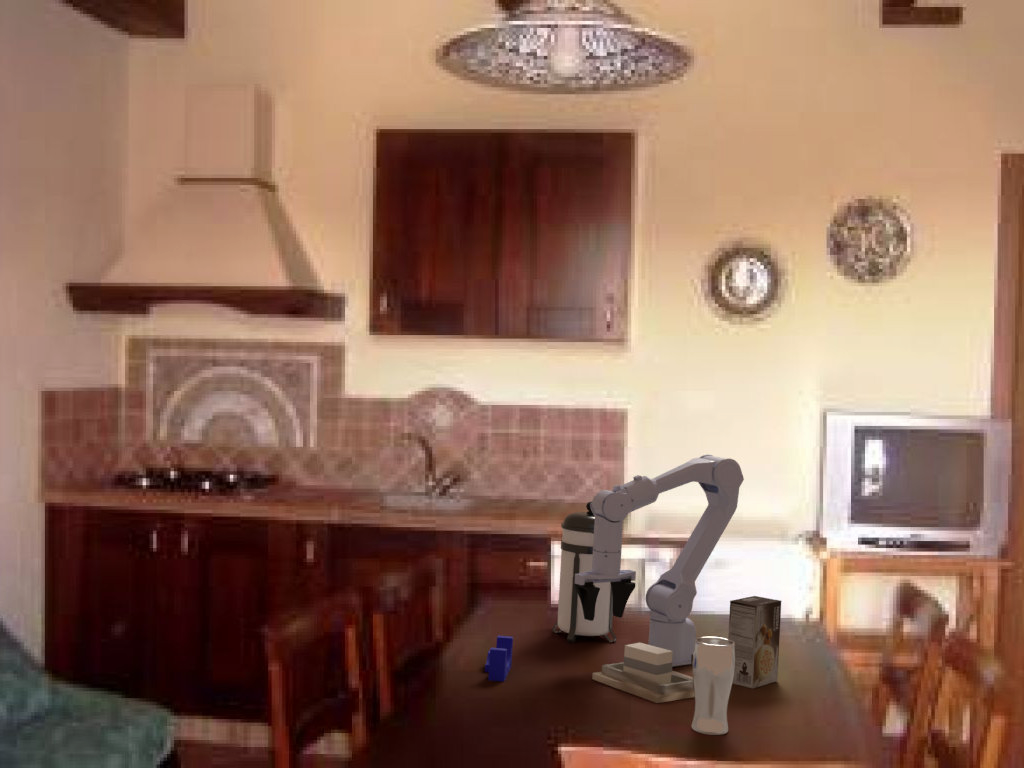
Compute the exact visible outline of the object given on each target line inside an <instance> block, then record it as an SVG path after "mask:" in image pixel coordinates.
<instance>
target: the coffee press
mask: <svg viewBox="0 0 1024 768" xmlns="http://www.w3.org/2000/svg"><path fill="white" fill-rule="evenodd" d="M590 503H592V501H589V502H587V503H586V506H585V507H586V510H587V511H577V512H572V513H569V514H568V515H566V516H565V517H564V518H563V522H561V523H560V524H561V525H560V528H561V529H562V537H561V541H560V549H561V553H560V555H561V556H560V557H561V558H560V572H559V573H560V574H559V588H558V589H559V590H558V605H557V606H558V607H557V609H558V610H557V622H555V625H554V626H553V627H552V631H553V633H554V634H558V633H560V632H562V631H563V632H564V633H567V638H566V640H567V641H566V642H567V643H571V644H575V642H576V641H577V638H578V637H579V636H583V637H595V636H597V637H598V636H601V637H604V638H605V639H606V641H608V642H609V643H613V642H615V641H617V636H616V634H615V632H614V630H613V617H614V616H613V594H612V588H611V583H610V582H603V583H593V585H595V587H598V588H600V591H599V593H598V596H597V600H596V605H595V616H594V620H593V621H590V620H586V619H584V613H583V608H582V604H581V600H580V597H579V595H578V593H577V591H576V589H575V574H579V573H584V572H589V571H590V570H591V569H592V558H593V540H594V524H595V516H594V514H593V513H592V511H591V508H590ZM557 627H558V628H559V629H560V630H557V629H556V628H557ZM609 633H610V635H611V636H612V638H613V640H612V639H611V638H610V636H609V635H608V634H609Z"/></svg>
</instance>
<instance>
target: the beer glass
mask: <svg viewBox="0 0 1024 768" xmlns="http://www.w3.org/2000/svg"><path fill="white" fill-rule="evenodd" d="M734 645H735V643H734V642H733V641H732V640H729V639H728V638H725V637H718V636H700V637H696V639H695V647H694V654H693V664H692V669H691V670H692V673H691V674H692V677H693V685H694V694H695V697H694V703H695V704H694V714H693V717H692V722H691V729H692V730H693V731H694V732H696V733H700V734H702V735H709V736H721V735H725V734H727V733H728V732H729V723H728V705H729V699H730V696H731V691H732V686H733V684H732V683H733V677H734V668H735V647H734Z"/></svg>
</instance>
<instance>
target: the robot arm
mask: <svg viewBox="0 0 1024 768" xmlns="http://www.w3.org/2000/svg"><path fill="white" fill-rule="evenodd" d="M632 478H633V480H630V481H628V482H626V483H622V484H615V485H613V488H612V490H607V489H602V490H600V491H598V492H597V493H596V494H595V495H594V496H593V498H592V501H591V502H592V503H590V508H591V511H592V513H593V514H594V516H595V524H594V540H593V558H592V569H591V570H590V571H589V572H584V573H579V574H575V589H576V591H577V593H578V595H579V597H580V600H581V604H582V608H583V613H584V619H586V620H590V621H593V620H594V616H595V605H596V600H597V596H598V593H599V591H600V588H598V587H595V585H593V583H603V582H610V583H611V588H612V594H613V617H616V618H619V619H621V618H623V615H624V612H625V609H626V607H627V603H628V601H629V599H630V597H631V594H632V593H633V591H634V590H635V589H636V582H634V581H636V573H637V571H635V570H632V569H622V568H621V564H622V547H623V546H622V545H623V533H624V532H623V529H624V520H625V519H626V518H627V516H628V515H629V514H630V513H631V512H635V511H636V510H640V509H642V508H644V507H646V506H649V505H651V504H654V503H655V502H656V501H657V499H658V498H659V495H660V494H662V493H664V492H667V491H670V490H674V489H676V488H678V487H682V486H683V485H686V484H689V483H694V482H696V483H698V484H699V486H700V488H701V489H702V490H703V492H704V494H705V497H706V500H707V506H706V507H705V510H704V512H702V515H701V517H700V519H699V520H698V522H697V524H696V526H695V527H694V529H693V530H692V532H691V534H690V536H689V538H688V539H687V541H686V543H685V544H684V546H683V548H682V550H681V551H680V554H679V555H678V556H677V558H676V560H675V561H674V564H673V565H672V567H671V568H670V569H669V570H667V571H666V572H663V573H662V574H661V575H660V576H659V578H658V579H657V581H656V582H655V583H653V584H652V585H650V586H649V587H648V589H647V591H646V592H645V593H646V594H645V598H644V599H645V604H646V607H647V608H648V609H649V610H650V611H649V614H650V615H649V633H648V645H651V646H655V647H659V648H663V649H666V650H670V651H673V655H672V668H673V667H679V666H687V665H692V664H691V654H694V647H695V639H696V638H697V628H696V626H695V623H694V622H693V620H691V619H690V618H689V616H690V615H691V612H692V609H693V605H694V600H695V597H696V596H697V594H698V591H697V587H696V581H697V578H698V577H699V575H700V574H701V572H702V570H703V568H704V567H705V565H706V563H707V561H708V560H709V558H710V557H711V554H712V552H713V551H714V549H715V547H716V546H717V544H718V542H719V541H720V538H721V537H722V535H723V534H724V531H725V530H726V528H727V527H728V525H729V523H730V521H731V519H732V518H733V515H735V513H736V510H737V509H738V502H739V494H740V487H741V486H742V484H743V482H744V480H745V478H744V475H743V471H742V468H741V466H740V464H739V463H738V461H736V460H735V459H733V458H730V457H729V458H728V457H727V458H725V457H720V456H714V455H712V454H703V455H701V456H699V457H694V458H691V459H689V460H687V462H685V463H683V464H681V465H677V466H676V467H674V468H672V469H670V470H668V471H666V472H663V473H661V474H660V475H657V476H655V477H651V478H650V477H649V476H648V475H643V476H642V475H640V474H639V475H634V476H633V477H632Z"/></svg>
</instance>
